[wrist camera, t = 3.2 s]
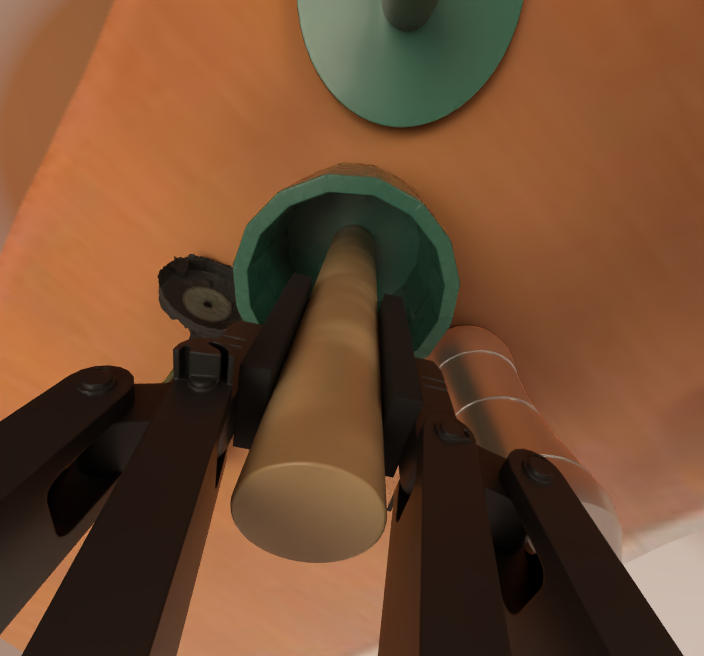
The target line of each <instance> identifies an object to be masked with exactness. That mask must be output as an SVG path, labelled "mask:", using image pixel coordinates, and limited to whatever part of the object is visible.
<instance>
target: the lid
mask: <svg viewBox="0 0 704 656" xmlns="http://www.w3.org/2000/svg"><path fill="white" fill-rule="evenodd" d="M522 5H523V0H297V7H298V15H299V21H300V27H301V31H302V35H303V39H304V43H305V46H306V48H307V51H308V54H309V56H310V59H311V61H312V63H313V65H314V67H315V69H316V71H317V73H318V75H319V77H320V78H321V80H322V81H323V83H324V84H325V86H326V87H327V88H328V90H329V91H330V92H331V93H332V94H333V95H334V97H335V98H336V99H337V100H338V101H339V102H340V103H341V104H343V105H344V106H345V107H346V108H347V109H348V110H350V111H351V112H353V113H354V114H356V115H357V116H359V117H361V118H363V119H365V120H367V121H369V122H372V123H375V124H378V125H382V126H388V127H395V128H407V127H414V126H420V125H424V124H427V123H430V122H434V121H436V120H438V119H440V118H442V117H445V116H447V115H448V114H450V113H452V112H453V111H455V110H456V109H458V108H460V107H461V106H462V105H463V104H464V103H466V102H467V101H468V100H469V99H471V98H472V97H473V96H474V95H475V94H476V93H477V92H478V91H479V90H480V89H481V88H482V87H483V85H484V84H485V83H486V81H487V80H488V79H489V78H490V76H491V75H492V74H493V72H494V71H495V69H496V68H497V66H498V64H499V63H500V61H501V60H502V58H503V56H504V54H505V52H506V50H507V48H508V46H509V44H510V42H511V39H512V37H513V34H514V31H515V29H516V26H517V23H518V19H519V16H520V12H521V8H522Z"/></svg>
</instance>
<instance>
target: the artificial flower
mask: <svg viewBox="0 0 704 656" xmlns="http://www.w3.org/2000/svg"><path fill="white" fill-rule="evenodd" d="M174 258H175V259H174V261H172V262H170V263H169V264H167V265H166V266H164V267H163V269H162V270H160V271H159V275H158V279H159V281H158V282H159V302H160V305H161V307H162V309H163V310H164V311H165V312H166V313H167V314H168V315H169V317H170V318H171V319H172V320H174V319H178V320H179V321H180V322H181V323H182V324H183V325H184V326H185V328H189V331H190V338H189V339H195V338H213V339H217V340H218V339H219V338H220V337H221V336H222V334H223V333H224V332H225V330H226V329H227V328H228V327H229V326H230V325H232V324H234V323H236V322H238V321H240V320H242V321H243V319H242V317H241V315H240V313H239V311H238V309H237V306H236V296H235V285H234V275H233V268H231V267H230V266H227V265H223V264H220V263H218V262H214V260H211V259H208V258H204V257H201V256H200V257H198V256H195V255H194V254H189V255H188V257H185V258H182V257H179V258H176V257H174ZM173 378H174V368H173V370H172V371H171V372H170V374H169V375H168V377H167V378H166V380H165V381H164V382H162V383H168V382H170V381H171V380H172V379H173Z"/></svg>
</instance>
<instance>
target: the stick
mask: <svg viewBox="0 0 704 656" xmlns="http://www.w3.org/2000/svg"><path fill="white" fill-rule="evenodd" d="M231 514H232V518H233V520H234V522H235V524H236V526H237V527H238V529H239V530H240V532H241V533H242V534H243V535H244V536H245V537H246V538H247V539H248V540H249V541H251V542H252V543H253V544H255V545H256V546H258V547H259V548H261V549H263V550H265V551H267V552H269V553H271V554H274V555H276V556H279V557H282V558H286V559H289V560H294V561H300V562H309V563H327V562H336V561H341V560H345V559H349V558H352V557H354V556H357V555H359V554H361V553H363V552H365V551H366V550H368V549H369V548H371V547H372V546H373V545H374V544H375V543H376V542H377V541H378V540H379V538H380V537H381V535H382V533H383V531H384V529H385V526H386V521H387V507H386V485H385V462H384V440H383V417H382V394H381V372H380V349H379V327H378V304H377V282H376V259H375V242H374V239H373V236H372V235H371V233H370V232H369V231H368V230H367V229H366V228H364V227H362V226H359V225H347V226H344V227H342V228H341V229H339V230H338V231H337V232H336V234H335V235H334V237H333V239H332V242H331V245H330V247H329V250H328V252H327V255H326V257H325V260H324V262H323V265H322V267H321V270H320V272H319V275H318V278H317V280H316V283H315V285H314V288H313V290H312V293H311V295H310V298H309V300H308V303H307V306H306V308H305V311H304V313H303V316H302V318H301V321H300V323H299V326H298V328H297V331H296V333H295V336H294V339H293V341H292V344H291V346H290V349H289V351H288V354H287V356H286V359H285V361H284V364H283V366H282V369H281V372H280V374H279V377H278V379H277V382H276V384H275V387H274V389H273V392H272V394H271V397H270V400H269V402H268V405H267V407H266V410H265V412H264V415H263V417H262V420H261V422H260V425H259V427H258V430H257V433H256V435H255V438H254V440H253V443H252V445H251V448H250V450H249V453H248V455H247V458H246V460H245V463H244V466H243V468H242V471H241V473H240V476H239V478H238V481H237V483H236V486H235V488H234V491H233V494H232V497H231Z"/></svg>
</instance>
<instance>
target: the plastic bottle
mask: <svg viewBox="0 0 704 656" xmlns="http://www.w3.org/2000/svg"><path fill="white" fill-rule="evenodd" d="M425 359H426V360H430V361H434V363H435V364H436V365H437V366H438V367H439V368H440V370H441V371H442V373H443V377H444V380H445V383H446V386H447V389H448V390H447V392H448V393H449V396H450V399H451V402H452V405H453V409H454V412H455V415H456V418H457V419H458V420H460V421H461V422H462V423H464V424H465V425H466V426H467V427H468V428H469V429H470V430H471V431H472V433H473V435H474V438H475V440H476V444H477V445H479V446H481V447H483V448H484V449H486V450H489V451H491V452H493V453H495V454H498V455H500V456H502V457H504V458H507V457H508V455H509V453H510V452H512V451H513V450H515V449H527V450H530V451H534V452H536V453H538V454H540V455H542V456H543V457H545V458H546V459H548V460H549V461H550V462H551V463H553V464H554V465H555V466H556V467H557V468H558V470H559V471H560V472H561V473H562V474H563V476H564V477H565V479H566V480H567V482H568V483H569V485H570V486H571V488H572V489H573V491H574V492H575V494H576V495H577V497H578V498H579V500H580V501H581V503H582V504H583V506H584V507H585V509H586V510H587V512H588V513H589V515H590V516H591V518H592V519H593V521H594V522H595V524H596V525H597V527H598V528H599V530H600V531H601V533H602V534H603V536H604V537H605V539H606V540H607V542H608V543H609V545H610V546H611V548H612V549H613V551H614V552H615V554H616V555H617V557H618V558H619V560H620V561H621V563H622V538H623V537H622V527H621V524H620V521H619V518H618V515H617V512H616V509H615V506H614V504H613V502H612V500H611V498H610V496H609V495H608V494H607V493H606V491H605V490H604V489H603V488H602V486H601V485H600V484H599V482H598V481H597V480H596V479H595V478H594V477H593V476H592V475H591V474H590V472H589V471H588V470H587V469H586V468H585V467H584V466H583V465H582V464H581V463H580V462H579V460H578V459H577V458H576V457H575V456H574V455H573V454H572V453H571V452H570V451H569V450H568V448H567V447H566V446H565V445H564V444H563V443H562V442H561V441H560V440H559V439H558V438H557V436H556V435H555V434H554V432H553V431H552V430H551V428H550V427H549V426H548V424H547V423H546V422H545V420H544V419H543V418H542V416H541V415H540V414H539V413H538V411H537V409H536V408H535V407H534V405H533V404H532V403H531V401H530V399H529V397H528V395H527V393H526V391H525V389H524V387H523V385H522V383H521V381H520V379H519V377H518V375H517V370H516V366H515V363H514V361H513V358H512V356H511V353H510V351H509V349H508V348H507V346H506V345H505V344H504V343H503V342H502V341H501V340H500V339H499V338H498V337H496V336H495V335H494V334H493V333H491V332H490V331H488V330H486V329H484V328H481V327H477V326H472V325H463V326H456V327H453V328H450V329H448V330H447V331H446V332H445V334H444V335H443V337H442V338H441V339H440V341H439V342H438V344H437V345H436V346H435V348H434V349H433V351H432V352H431V353H430V355H429V356H427V358H425ZM528 542H529V544H530V546H531V548H532V550H533V551H534V552H535V553H536V551H535V549H534V547H533V545H532V543H531V540H530V539H529V540H528Z"/></svg>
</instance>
